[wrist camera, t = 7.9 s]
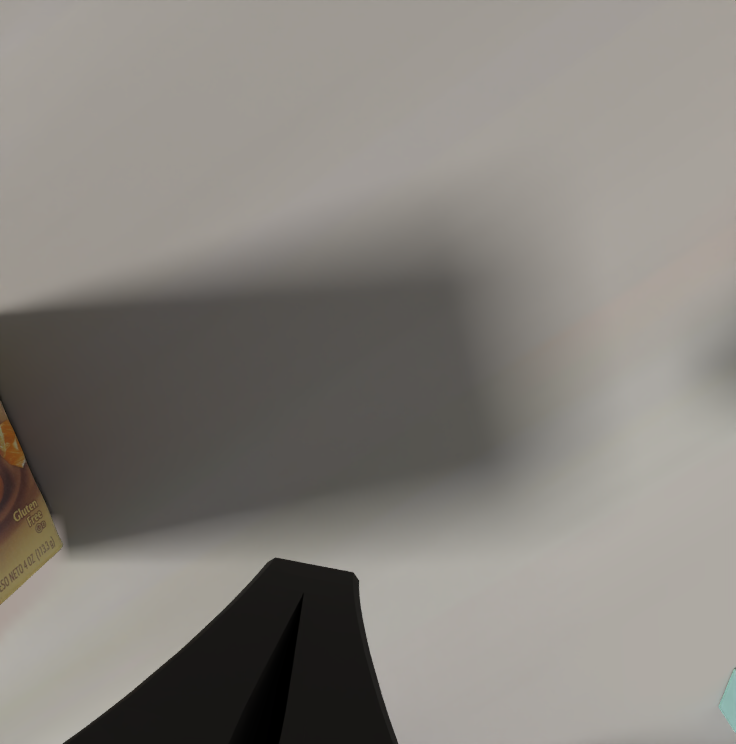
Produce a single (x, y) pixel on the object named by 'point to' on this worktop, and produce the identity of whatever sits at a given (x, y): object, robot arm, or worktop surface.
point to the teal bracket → (730, 701)
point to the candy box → (21, 517)
